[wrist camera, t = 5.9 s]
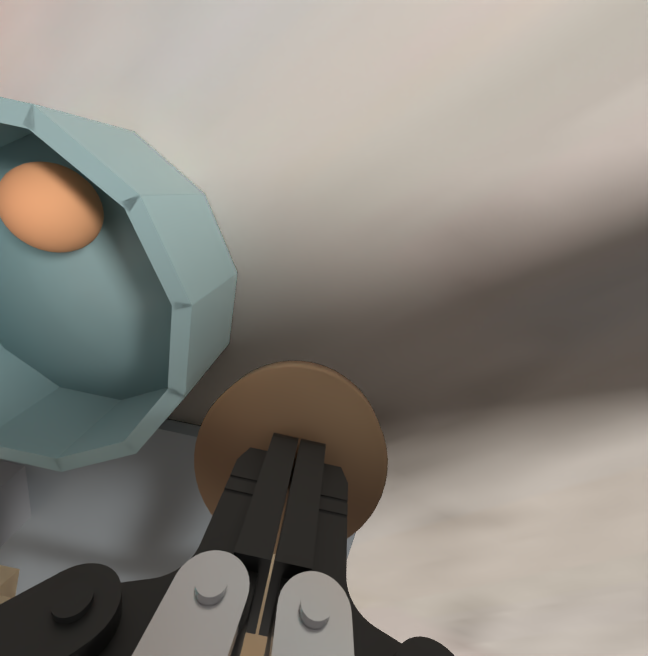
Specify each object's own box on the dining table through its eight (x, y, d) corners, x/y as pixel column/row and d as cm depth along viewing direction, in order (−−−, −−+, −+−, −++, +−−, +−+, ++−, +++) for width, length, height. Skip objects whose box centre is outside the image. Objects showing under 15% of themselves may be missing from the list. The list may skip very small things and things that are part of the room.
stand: (-19, 378, 18) (-453, 597, 8) (373, 464, 18) (397, 779, 8) (17, 597, 24) (-209, 871, 14) (309, 660, 24) (281, 975, 14)
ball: (106, 271, 14) (129, 200, 14) (50, 240, 11) (82, 152, 11) (29, 254, 14) (55, 184, 14) (-47, 219, 11) (-11, 132, 11)
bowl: (251, 157, 14) (204, 141, 9) (219, 423, 18) (178, 497, 14) (-70, 86, 13) (-267, 37, 9) (-22, 371, 18) (-141, 428, 14)
